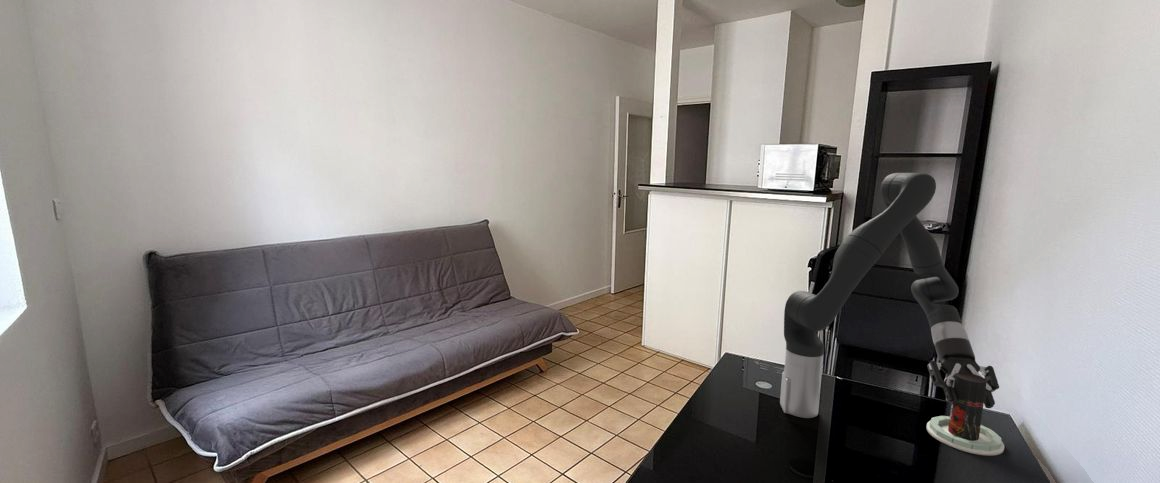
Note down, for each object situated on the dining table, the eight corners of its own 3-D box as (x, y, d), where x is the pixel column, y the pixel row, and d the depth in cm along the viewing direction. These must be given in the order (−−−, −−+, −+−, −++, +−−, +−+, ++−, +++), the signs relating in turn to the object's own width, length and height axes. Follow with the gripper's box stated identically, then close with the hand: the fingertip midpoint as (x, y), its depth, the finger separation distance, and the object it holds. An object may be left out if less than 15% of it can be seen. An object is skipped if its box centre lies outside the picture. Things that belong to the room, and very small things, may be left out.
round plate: (945, 450, 110) (946, 442, 110) (915, 418, 125) (916, 411, 124) (1019, 459, 107) (1021, 451, 107) (980, 425, 122) (981, 418, 121)
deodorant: (984, 442, 113) (992, 383, 110) (956, 439, 114) (964, 381, 112) (969, 429, 118) (977, 373, 116) (943, 426, 119) (950, 371, 117)
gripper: (927, 334, 121) (945, 396, 112) (991, 339, 118) (1015, 404, 109) (915, 346, 127) (931, 407, 118) (975, 351, 124) (998, 413, 114)
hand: (972, 405), depth 113 cm, fingers open, 7 cm apart
